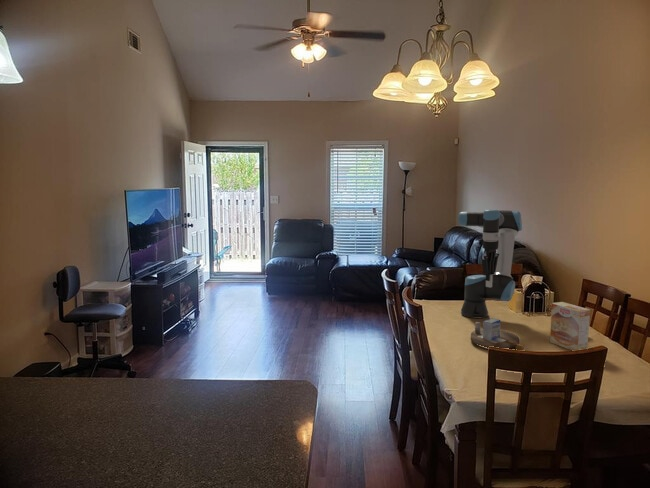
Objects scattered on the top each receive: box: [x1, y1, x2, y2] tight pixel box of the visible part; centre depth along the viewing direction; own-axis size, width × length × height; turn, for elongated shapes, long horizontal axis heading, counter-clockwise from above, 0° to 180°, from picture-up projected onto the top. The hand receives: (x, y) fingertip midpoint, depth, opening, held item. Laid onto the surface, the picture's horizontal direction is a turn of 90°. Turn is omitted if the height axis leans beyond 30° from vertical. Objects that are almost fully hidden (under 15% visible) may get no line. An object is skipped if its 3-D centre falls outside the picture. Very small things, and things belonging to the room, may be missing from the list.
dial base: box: [487, 343, 525, 351], centre depth 215 cm, size 24×19×3 cm
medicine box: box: [482, 317, 501, 341], centre depth 213 cm, size 8×4×9 cm, turn 128°
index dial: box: [470, 321, 521, 349], centre depth 216 cm, size 22×22×7 cm
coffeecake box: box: [549, 301, 591, 351], centre depth 211 cm, size 15×7×20 cm, turn 23°
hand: (488, 286), depth 228 cm, fingers closed
